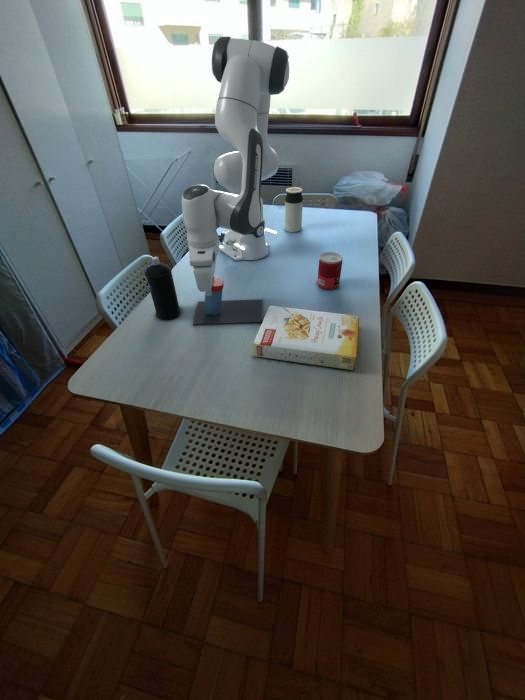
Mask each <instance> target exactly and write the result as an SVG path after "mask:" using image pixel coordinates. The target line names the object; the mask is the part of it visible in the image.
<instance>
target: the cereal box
mask: <svg viewBox="0 0 525 700" xmlns="http://www.w3.org/2000/svg"><path fill="white" fill-rule="evenodd" d="M360 317H361V316H360V315H354V314H345V313H337V312H328V311H319V310H311V309H303V308H294V307H285V306H276V305H269V306H268V308H267V311H266V313H265V316H264V318H263V319H262V323H261V325H260V327H259V329H258V332H257V334H256V336H255V339H254V341H253V356H254V357H258V358H263V359H265V358H266V359H272V360H277V361H278V360H280V361H285V362H286V361H287V362H292V363H300V364H306V365H307V364H308V365H315V366H322V367H329V368H336V369H343V370H349V371H353V370H355V367H356V363H357V358H358V357H357V356H358V347H359V332H360V329H359V328H360Z"/></svg>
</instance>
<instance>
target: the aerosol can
mask: <svg viewBox="0 0 525 700" xmlns="http://www.w3.org/2000/svg"><path fill="white" fill-rule="evenodd" d="M159 258H160V257H159V256H152V257H151V261H152V263H151V264H149V265H148V266H147V267H146V269H145V270H144V272H143V273H144V275H145V277H146V280H147V285H148V288H149V292H150V296H151V299H152V303H153V306H154V310H155V317H156V318H157V319H159V320H161V321H171V320H173V319H176V318H178V317H179V316H180V315H181V312H182V310H181V308H180V304H179V300H178V295H177V291H176V290H177V289H176V286H175V282H174V277H173V272H172V271H173V269H172V266H170V265H169V264H166V263H164V262H161V261H160V259H159Z"/></svg>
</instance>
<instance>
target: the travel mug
mask: <svg viewBox="0 0 525 700" xmlns="http://www.w3.org/2000/svg"><path fill="white" fill-rule="evenodd" d="M303 191H304V190H303V188H301V187H299V186H298V187H296V186H292V187H287V188H286V189H285V192H286V195H285V197H284V200H285V201H284V230H285V231H287V232H289V233H295V232H296V233H297V232H299V231H301V230H302V226H303V225H302V223H303V201H304V196H303V193H302V192H303Z"/></svg>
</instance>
